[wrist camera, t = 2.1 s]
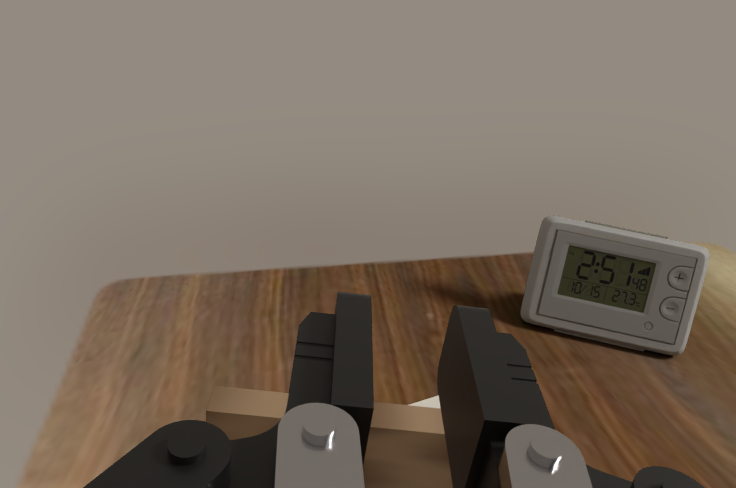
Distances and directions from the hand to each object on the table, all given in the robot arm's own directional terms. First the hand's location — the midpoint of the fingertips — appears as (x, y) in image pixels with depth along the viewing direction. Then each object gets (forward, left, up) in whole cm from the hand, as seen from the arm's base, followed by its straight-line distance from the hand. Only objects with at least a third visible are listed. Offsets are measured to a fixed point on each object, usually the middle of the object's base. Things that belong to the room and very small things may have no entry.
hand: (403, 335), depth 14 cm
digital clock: (-44, -23, -26) cm, 56 cm away
